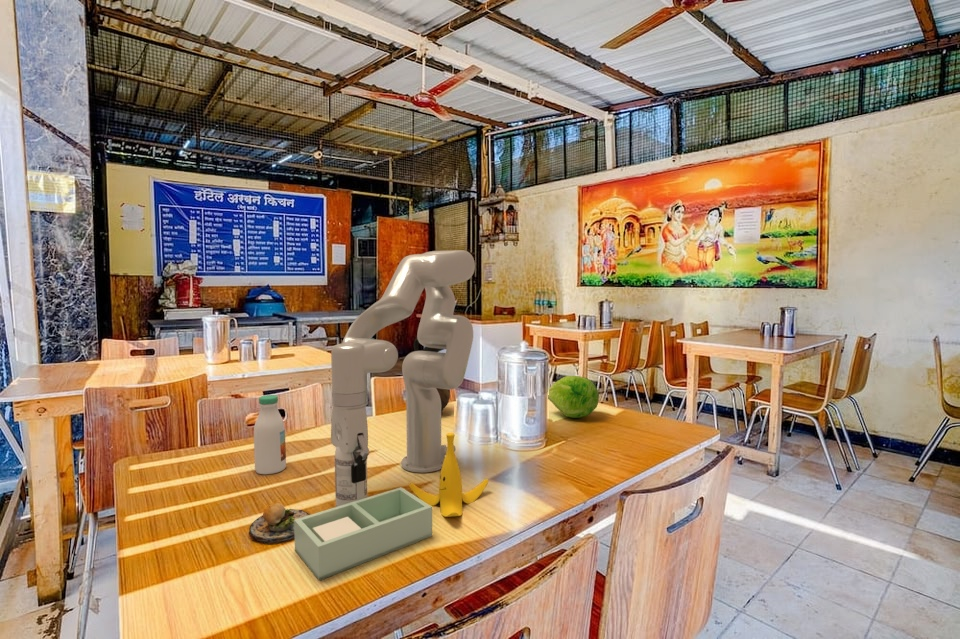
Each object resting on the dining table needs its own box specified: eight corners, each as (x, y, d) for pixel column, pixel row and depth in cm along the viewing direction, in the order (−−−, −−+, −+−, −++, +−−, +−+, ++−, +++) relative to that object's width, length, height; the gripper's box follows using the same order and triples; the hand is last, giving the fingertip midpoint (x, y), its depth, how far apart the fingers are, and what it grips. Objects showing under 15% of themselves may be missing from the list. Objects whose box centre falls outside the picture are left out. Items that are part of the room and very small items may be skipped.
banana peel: (452, 529, 100) (452, 450, 99) (407, 497, 115) (406, 427, 114) (513, 507, 110) (513, 434, 109) (464, 479, 125) (464, 415, 124)
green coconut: (558, 408, 195) (558, 369, 194) (606, 416, 184) (607, 375, 182) (537, 417, 181) (537, 376, 180) (588, 427, 170) (589, 382, 168)
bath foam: (355, 495, 116) (353, 412, 114) (373, 503, 111) (372, 417, 110) (329, 505, 110) (327, 418, 109) (347, 514, 106) (346, 424, 104)
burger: (317, 535, 98) (316, 500, 97) (253, 554, 92) (252, 516, 91) (303, 510, 108) (302, 478, 107) (245, 526, 102) (243, 491, 101)
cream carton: (348, 536, 96) (347, 516, 96) (364, 551, 90) (363, 530, 90) (312, 548, 91) (312, 528, 91) (327, 565, 86) (327, 543, 86)
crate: (401, 513, 106) (401, 487, 106) (432, 536, 97) (432, 506, 97) (294, 550, 92) (294, 519, 91) (319, 580, 83) (318, 546, 82)
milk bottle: (274, 476, 126) (272, 400, 125) (248, 473, 128) (245, 399, 126) (291, 465, 134) (289, 393, 132) (266, 463, 136) (264, 392, 134)
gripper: (318, 394, 113) (320, 468, 114) (350, 409, 100) (352, 493, 101) (348, 389, 118) (350, 461, 119) (383, 403, 104) (384, 484, 106)
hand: (351, 475), depth 110 cm, fingers closed on bath foam, 7 cm apart
